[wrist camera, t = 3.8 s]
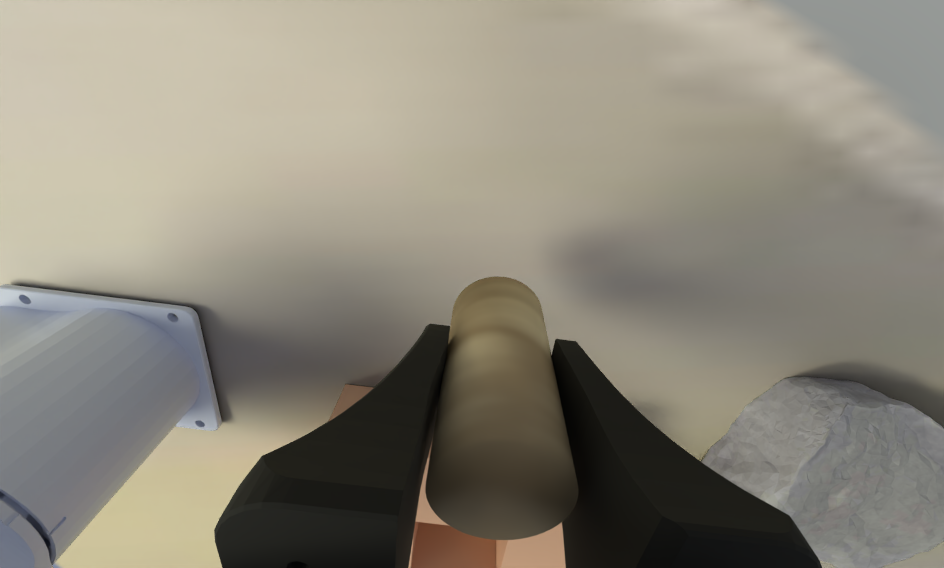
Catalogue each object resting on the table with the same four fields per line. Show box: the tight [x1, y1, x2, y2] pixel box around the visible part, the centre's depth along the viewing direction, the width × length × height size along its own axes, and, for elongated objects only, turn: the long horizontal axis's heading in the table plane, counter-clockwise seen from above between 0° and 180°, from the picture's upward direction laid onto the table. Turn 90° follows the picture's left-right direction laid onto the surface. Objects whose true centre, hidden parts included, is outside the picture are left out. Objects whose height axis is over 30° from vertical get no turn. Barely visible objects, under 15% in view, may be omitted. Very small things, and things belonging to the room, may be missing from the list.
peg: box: [425, 277, 578, 540], centre depth 12 cm, size 3×3×7 cm
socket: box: [328, 384, 566, 568], centre depth 24 cm, size 14×14×4 cm
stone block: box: [701, 377, 944, 568], centre depth 22 cm, size 12×5×10 cm
